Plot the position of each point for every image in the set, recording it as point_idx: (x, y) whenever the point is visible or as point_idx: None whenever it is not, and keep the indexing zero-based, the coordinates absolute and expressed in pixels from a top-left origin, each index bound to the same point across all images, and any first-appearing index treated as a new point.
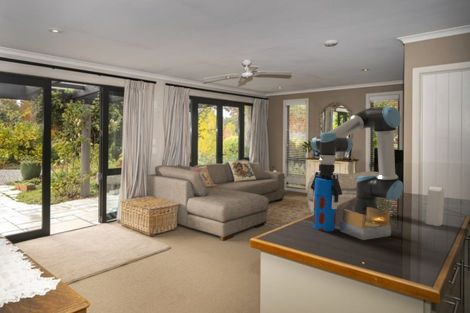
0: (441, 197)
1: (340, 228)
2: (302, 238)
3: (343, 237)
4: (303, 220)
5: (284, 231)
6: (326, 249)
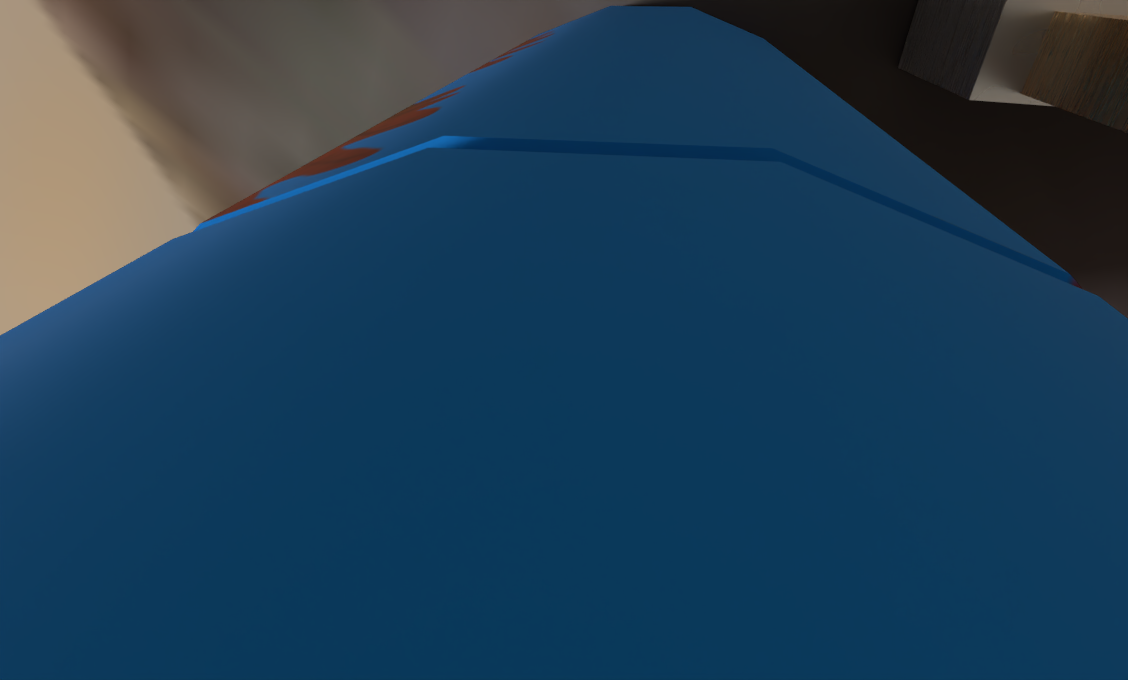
0: None
1: (920, 76)
2: None
3: (1090, 269)
4: (197, 150)
5: None
6: None
